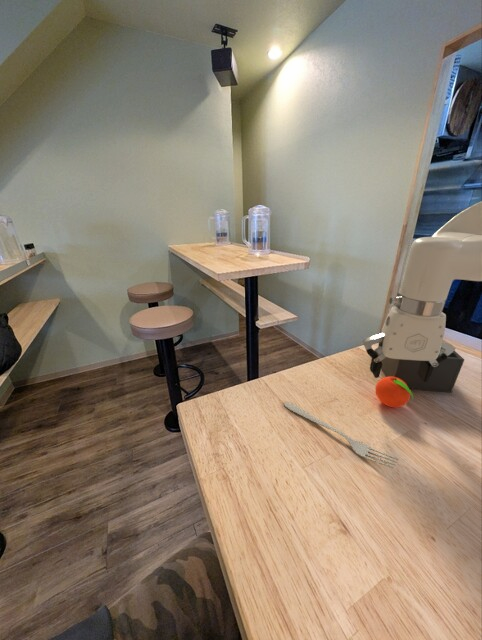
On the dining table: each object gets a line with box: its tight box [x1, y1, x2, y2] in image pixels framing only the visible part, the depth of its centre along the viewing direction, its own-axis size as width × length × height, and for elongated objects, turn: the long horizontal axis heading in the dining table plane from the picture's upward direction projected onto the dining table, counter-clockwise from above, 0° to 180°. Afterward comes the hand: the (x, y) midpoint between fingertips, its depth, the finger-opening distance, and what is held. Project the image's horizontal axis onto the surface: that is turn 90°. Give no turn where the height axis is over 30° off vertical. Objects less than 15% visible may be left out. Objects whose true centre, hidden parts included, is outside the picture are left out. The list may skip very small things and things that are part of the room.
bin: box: [377, 345, 465, 393], centre depth 67 cm, size 14×14×10 cm
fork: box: [283, 401, 399, 469], centre depth 53 cm, size 3×24×2 cm, turn 45°
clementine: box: [375, 376, 414, 409], centre depth 58 cm, size 8×7×7 cm
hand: (398, 376), depth 56 cm, fingers open, 9 cm apart
